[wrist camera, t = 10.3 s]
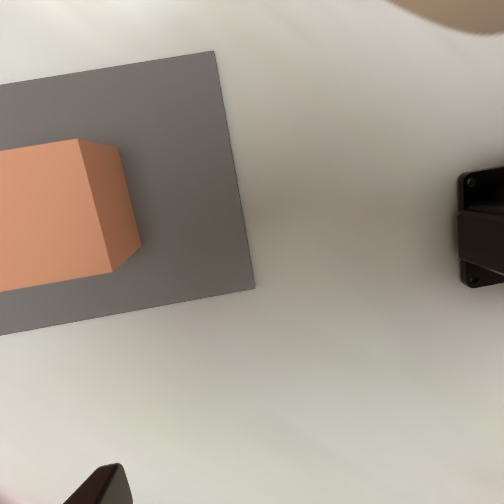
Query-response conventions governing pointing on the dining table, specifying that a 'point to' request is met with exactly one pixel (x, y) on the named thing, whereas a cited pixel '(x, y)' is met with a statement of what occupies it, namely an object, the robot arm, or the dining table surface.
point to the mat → (140, 184)
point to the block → (63, 213)
